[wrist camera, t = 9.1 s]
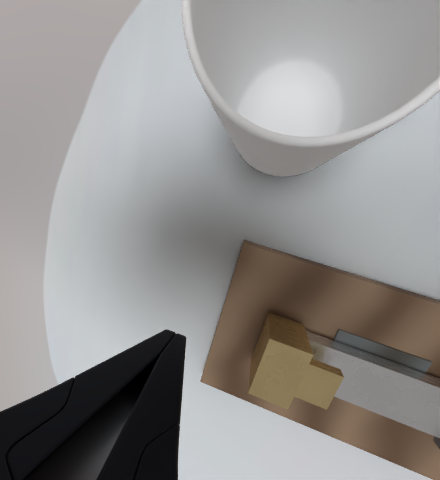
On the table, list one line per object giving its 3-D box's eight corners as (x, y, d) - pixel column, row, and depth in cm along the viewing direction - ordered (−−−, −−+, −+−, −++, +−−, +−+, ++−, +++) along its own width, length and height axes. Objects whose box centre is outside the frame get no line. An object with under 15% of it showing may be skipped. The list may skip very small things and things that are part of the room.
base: (545, 333, 15) (641, 379, 11) (439, 469, 19) (484, 538, 15) (244, 240, 18) (239, 251, 14) (203, 371, 22) (190, 408, 18)
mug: (395, 171, 15) (679, 115, 5) (232, 181, 18) (189, 157, 7) (411, 33, 13) (896, -501, 3) (229, 65, 16) (167, -178, 6)
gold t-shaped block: (334, 335, 17) (352, 369, 13) (311, 383, 18) (322, 424, 15) (268, 312, 17) (269, 338, 14) (250, 359, 19) (248, 393, 15)
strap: (492, 397, 15) (511, 413, 14) (463, 435, 16) (478, 453, 15) (304, 330, 17) (307, 339, 16) (287, 367, 18) (289, 378, 17)
